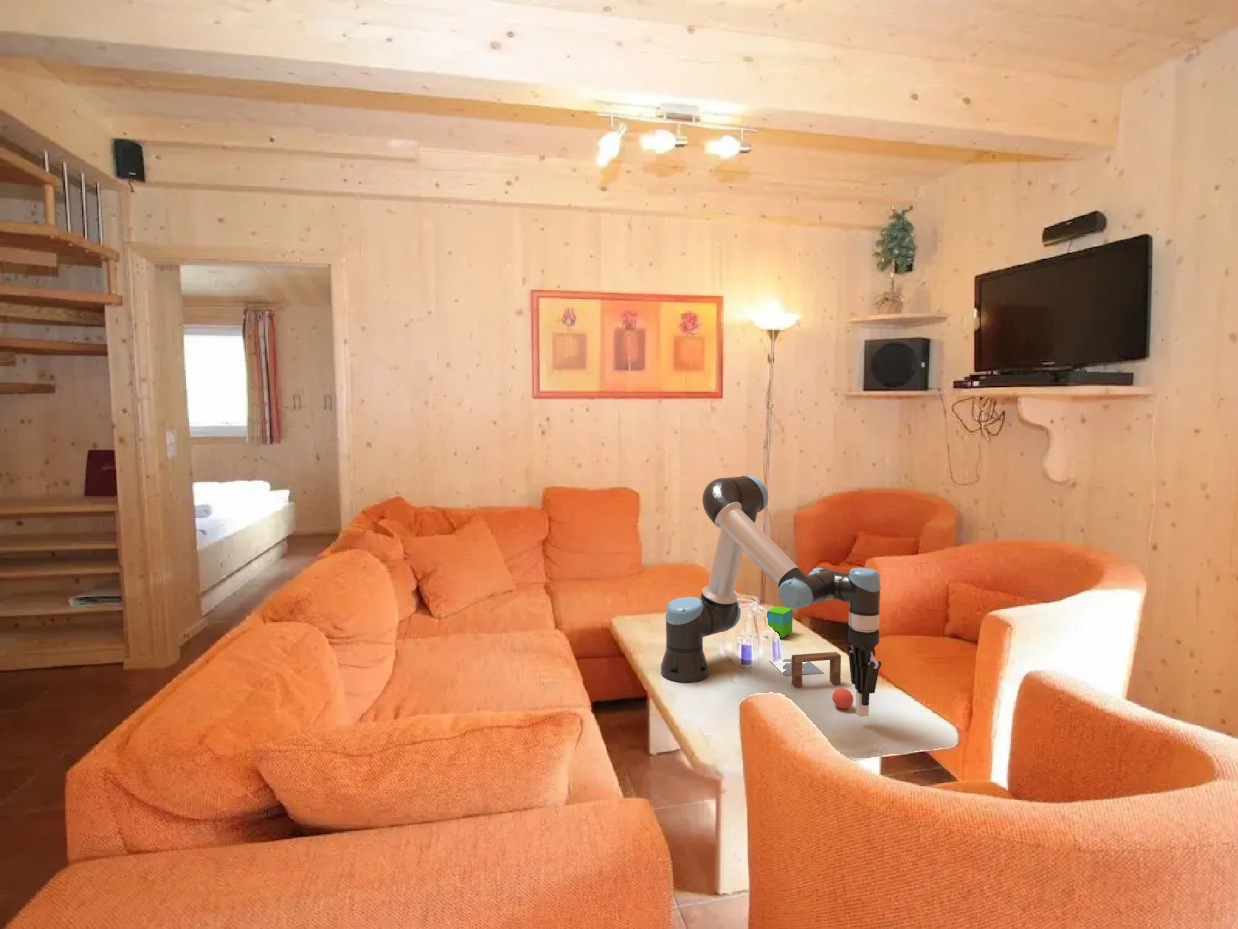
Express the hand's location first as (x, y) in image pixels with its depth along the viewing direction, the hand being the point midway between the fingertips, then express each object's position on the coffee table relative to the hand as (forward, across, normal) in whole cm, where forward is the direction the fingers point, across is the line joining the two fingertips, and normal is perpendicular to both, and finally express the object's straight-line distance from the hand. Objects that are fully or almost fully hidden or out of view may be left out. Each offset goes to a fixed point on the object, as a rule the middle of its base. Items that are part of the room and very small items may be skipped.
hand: (862, 715), depth 170 cm
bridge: (+3, +26, 0) cm, 26 cm away
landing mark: (+3, +40, 0) cm, 40 cm away
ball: (0, +10, 0) cm, 10 cm away
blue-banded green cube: (+3, +72, -5) cm, 72 cm away
